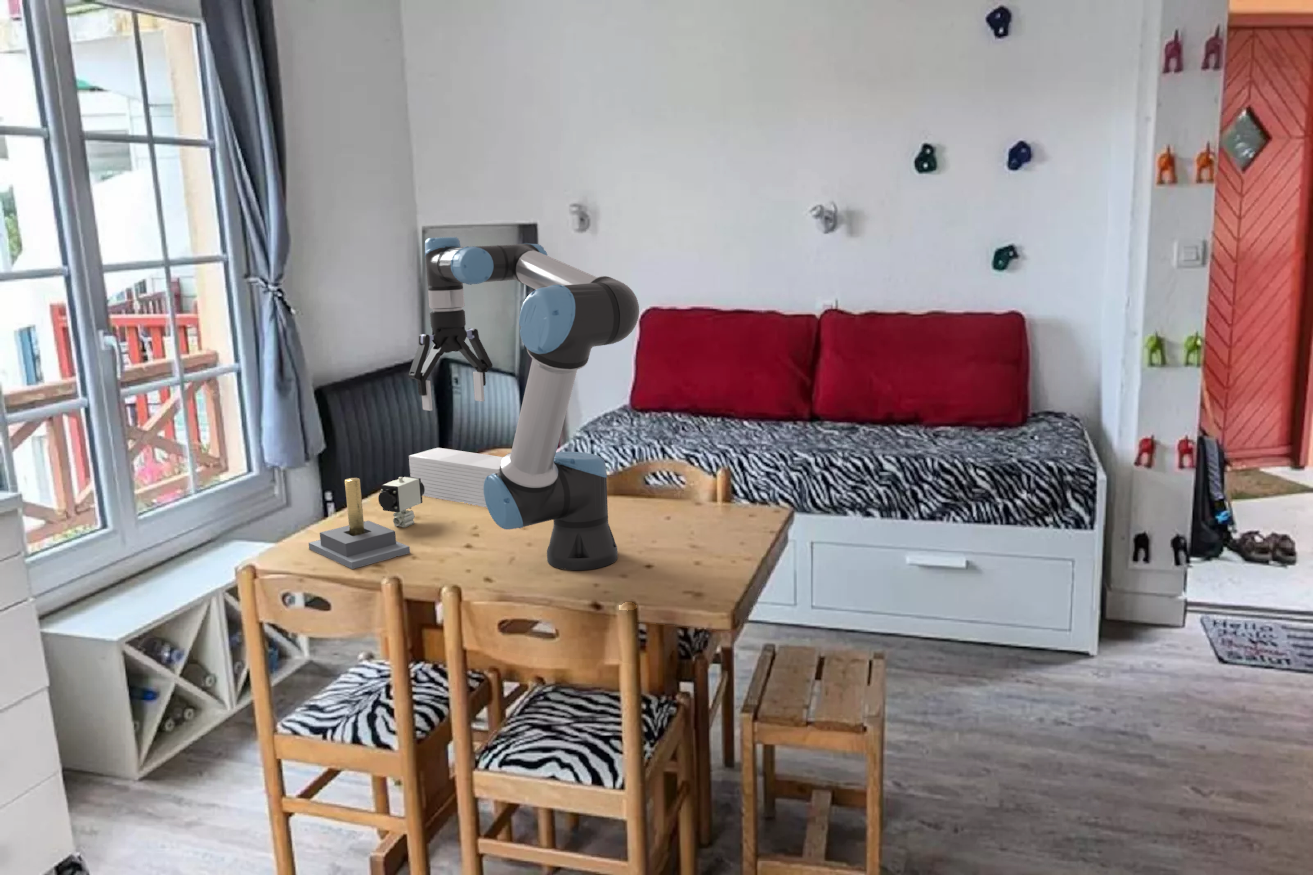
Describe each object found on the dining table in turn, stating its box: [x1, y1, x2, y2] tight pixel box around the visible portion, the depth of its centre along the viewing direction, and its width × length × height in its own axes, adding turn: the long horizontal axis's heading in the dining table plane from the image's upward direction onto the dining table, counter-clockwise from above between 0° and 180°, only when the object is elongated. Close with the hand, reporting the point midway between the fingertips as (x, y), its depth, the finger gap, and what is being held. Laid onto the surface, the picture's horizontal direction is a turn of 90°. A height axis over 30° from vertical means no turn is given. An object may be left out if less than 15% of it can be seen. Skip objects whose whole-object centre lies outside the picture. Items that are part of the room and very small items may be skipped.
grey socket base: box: [308, 520, 411, 570], centre depth 231 cm, size 20×14×4 cm
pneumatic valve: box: [378, 476, 425, 529], centre depth 249 cm, size 6×12×12 cm, turn 153°
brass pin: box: [344, 477, 365, 536], centre depth 230 cm, size 3×3×15 cm
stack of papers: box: [408, 447, 504, 508], centre depth 273 cm, size 32×11×11 cm, turn 56°
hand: (454, 405), depth 230 cm, fingers open, 13 cm apart
